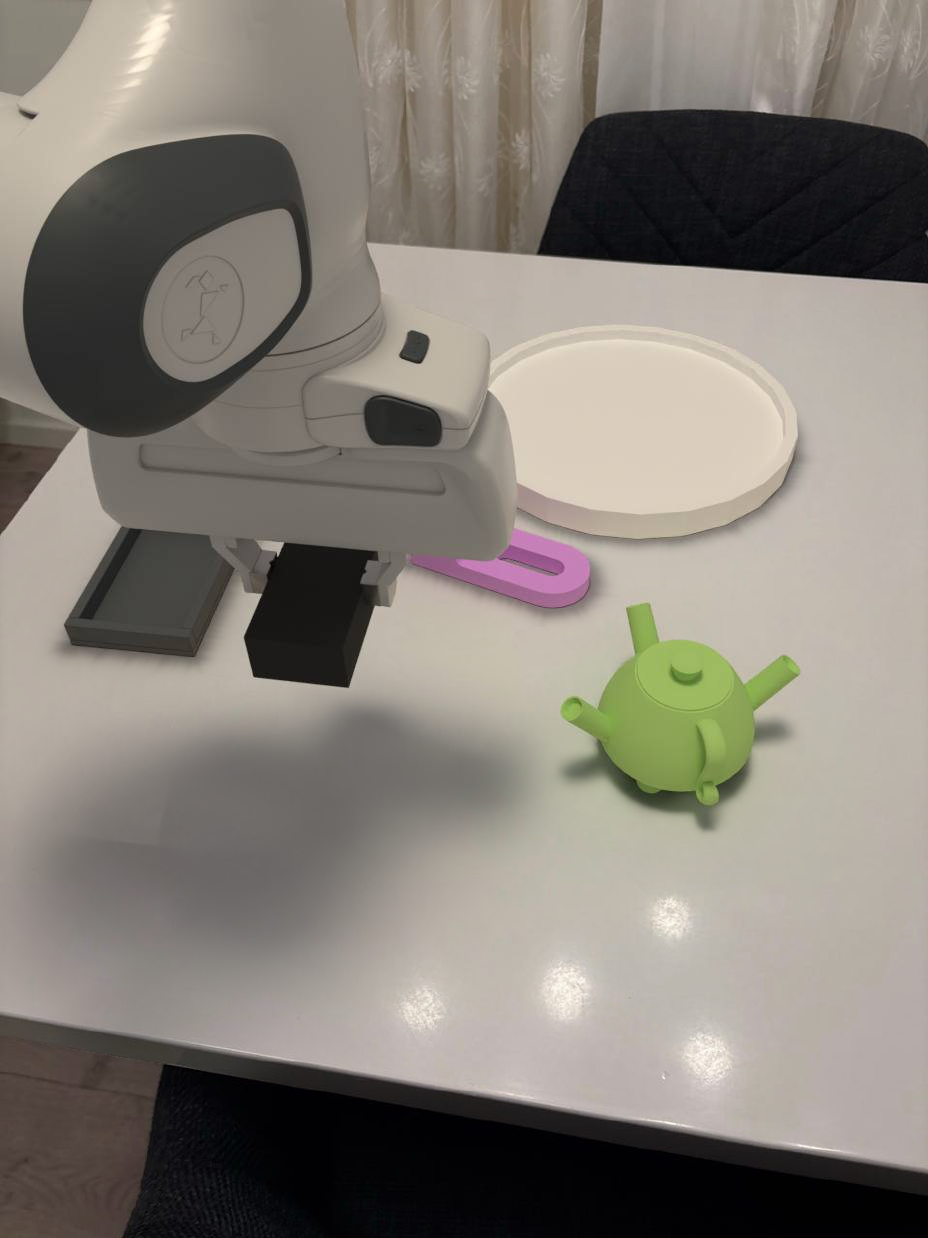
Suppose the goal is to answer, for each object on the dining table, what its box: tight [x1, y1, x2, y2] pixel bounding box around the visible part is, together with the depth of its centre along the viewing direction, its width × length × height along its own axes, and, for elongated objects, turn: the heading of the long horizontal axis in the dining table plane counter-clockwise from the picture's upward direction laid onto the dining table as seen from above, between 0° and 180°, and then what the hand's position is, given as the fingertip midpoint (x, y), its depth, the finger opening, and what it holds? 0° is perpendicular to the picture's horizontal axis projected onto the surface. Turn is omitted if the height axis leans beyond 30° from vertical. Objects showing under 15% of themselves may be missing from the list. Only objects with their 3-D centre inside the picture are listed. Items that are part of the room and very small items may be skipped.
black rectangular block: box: [243, 542, 379, 689], centre depth 55 cm, size 10×5×3 cm, turn 171°
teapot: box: [560, 602, 801, 806], centre depth 63 cm, size 11×12×8 cm
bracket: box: [411, 527, 591, 609], centre depth 76 cm, size 13×6×7 cm, turn 63°
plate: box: [488, 324, 799, 540], centre depth 89 cm, size 28×28×2 cm
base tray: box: [63, 525, 235, 658], centre depth 77 cm, size 14×9×2 cm
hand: (322, 592), depth 55 cm, fingers closed on black rectangular block, 5 cm apart
